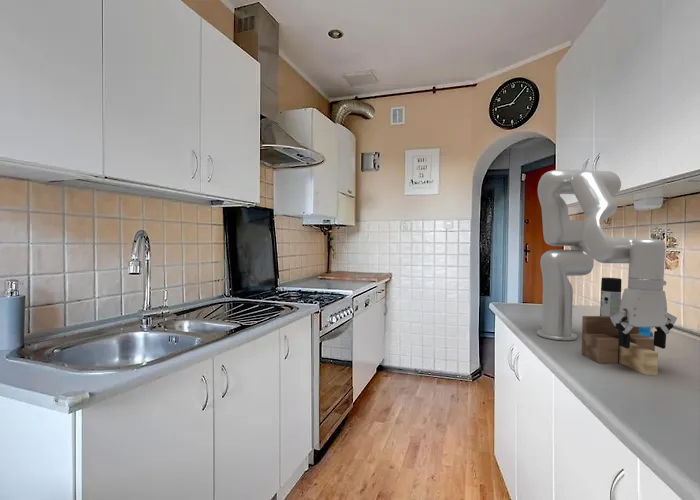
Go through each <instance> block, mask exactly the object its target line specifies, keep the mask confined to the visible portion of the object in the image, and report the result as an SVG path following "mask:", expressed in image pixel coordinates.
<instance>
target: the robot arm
mask: <svg viewBox="0 0 700 500" xmlns="http://www.w3.org/2000/svg"><path fill="white" fill-rule="evenodd" d="M621 188H622V181H621V179H620V176H619V175H617V173H615V172H613V171H610V170H609V171H607V170H587V169H586V170H583V169H582V170H580V169H578V170H577V169H554V170H550V171H547V172H545V173H544V174H542V175H541V177H540V179H539V181H538V184H537V197H538V200H539V204H540V207H541V218H542V219H541V220H542V233H543V240H544V242H545V244H547V245H549V246H553V247H570V249H549V250H548V251H546V252H544V253H543V254H542V255H541V257H540V269H541V274H542V311H541V312H542V313H541V316H542V317H541V318H542V319H541V321H540V322H539V323H540V325H541V329H538V330H537V332H536V334H537V335H538V336H540V337H541V338H543V339H544V338H545V339H549V340H557V341H575V340H577V338H578V337H577V336H578V335H577V334H576V333H574V332H572V330H573V329H572V327H573V299H574V297H573V293H574V292H573V291H574V290H573V285H572V283H571V282H570V280H569V278H568V277H578V276H587V275H589V274H590V273H591V272H592V271H593V268H594V264H595V263H594V262H595V261H596V262H598V263H600V264H628V275H627V277H628V278H627V279H628V280H627V288H624V290H623V292H622V294H621V304H620V310H619V312H618V313H616V314H614V315H612V316H610V319H611V321H612V323H613V326H614V327H615V328H616V329H617V331H619V340H618V341H619V345H620V346H622V347H624V348H630V334H628V332H629V331H630V330H631V329H632V328H633V327H653V328H654V329H655V330H654V333H653V339H654V345H655V347H658V348H660V349H666V345H667V344H666V343H667V342H666V341H667V335H668V334H670V331H671V330H672V329H673V328H674V325H675V323H676V322H677V319H678V318H677V317H676V316H675V315H673V314H671V313H670V312H668V304H667V303H668V302H667V295H666V291H665V290H664V286H665V287H666V285H667V281H666V280H664V279H665V264H666V263H665V262H666V249H667V248H666V247H667V246H666V243H665V241H663V239H657V238H656V239H655V238H654V239H653V238H640V237H639V238H638V237H627V236H626V237H624V236H619V237H618V236H616V237H615V236H610V237H609V236H608V237H607V235H606V233H605V232H604V230H603V228H602V226H601V222H603V221H605V220H607V219H608V218H610V217H612V216H614V214H615V213H616V212H617V210H618V205H617V203H616V201H615V200H614V198H613V197H615V196H616V195H617V194H618V193H619V192H620V190H621ZM561 195H574V196H575V198H576V199H577V201H578V203H579V206H580V208H581V209H582V211H583V213H584V215H585V217H586V218H585V219H584V221H583V220H580V219H578V220H577V219H570V216H569V206H568V205H567V203H566V201H565V200H564V198H563V197H562V196H561ZM619 321H620V322H621V324H620V323H619Z"/></svg>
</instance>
